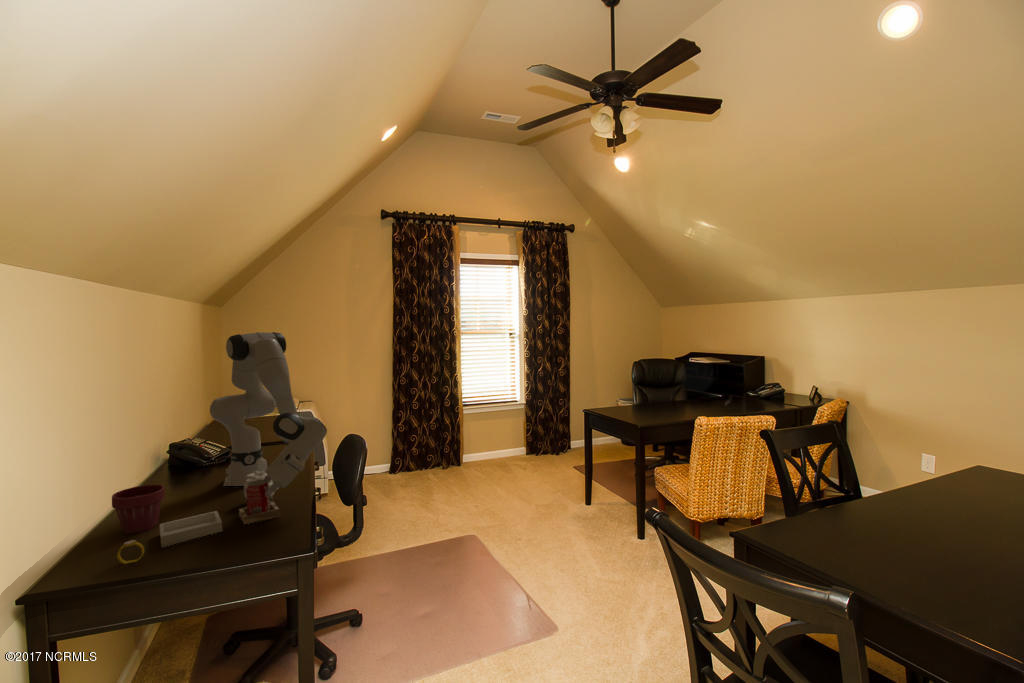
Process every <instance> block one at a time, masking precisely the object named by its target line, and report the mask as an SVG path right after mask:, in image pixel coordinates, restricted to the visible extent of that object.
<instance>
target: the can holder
mask: <svg viewBox="0 0 1024 683" xmlns="http://www.w3.org/2000/svg"><path fill="white" fill-rule="evenodd" d="M280 510H281V509H280V508H279V506H277V505H276V503H275V502H274V500H270V511H266V512H262V513H258V514H254V515H250V516H248V508H247V506H246V507H241V508H238V517H239V518H240V520H241V522H242V521H243V522H242V523H244V524H243V525H244V526H246V525H245V524H248V525H251V524H250V523H252V524H254V522H256V523H259V522H263V521H267V520H272V519H275V518H279V517H281V512H280ZM266 519H267V520H266ZM262 520H263V521H262ZM258 521H259V522H258Z"/></svg>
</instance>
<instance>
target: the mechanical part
mask: <svg viewBox="0 0 1024 683" xmlns="http://www.w3.org/2000/svg"><path fill="white" fill-rule="evenodd" d="M266 475H267V474H266V473H265V471H261V472H260V473H259V471H255V473H251V474H249V475H247V480H246V483H244V487H243V496H244V498H245V499H246V500H247V488H248V486H249V485H248V484H249V483H251V482H253V481H254V479H255V481H258V480H264V478H265V477H266ZM273 483H274V481H273V480H271V481H269V483H268V485H269V488H270V487H271V486H272V484H273ZM279 489H280V487H279V488H278V489H276V490H275V491H278V490H279ZM275 491H274V492H272V494H271V495H270V500H273V499H274V498H273V496H274V495H275Z"/></svg>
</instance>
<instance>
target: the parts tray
mask: <svg viewBox="0 0 1024 683" xmlns="http://www.w3.org/2000/svg"><path fill="white" fill-rule="evenodd" d="M218 532H223V522H222V519H221V517H220V514H219V512H218V510H215V511H210V512H206V513H201V514H197V515H193V516H189V517H184V518H181V519H175V520H171V521H166V522H163V523H160V524H159V536H160V547H161V549H163V548H167V546H168V547H171V546H170V545H172V546H174V545H173V544H176V543H179V542H183V541H186V540H190V539H194V538H198V537H202V536H206V535H209V534H214V533H218ZM176 545H177V544H176Z"/></svg>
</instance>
